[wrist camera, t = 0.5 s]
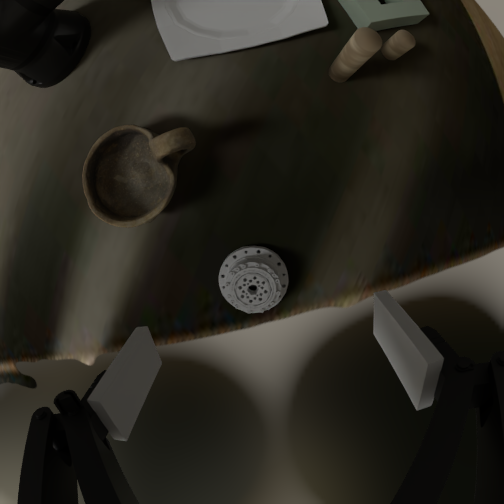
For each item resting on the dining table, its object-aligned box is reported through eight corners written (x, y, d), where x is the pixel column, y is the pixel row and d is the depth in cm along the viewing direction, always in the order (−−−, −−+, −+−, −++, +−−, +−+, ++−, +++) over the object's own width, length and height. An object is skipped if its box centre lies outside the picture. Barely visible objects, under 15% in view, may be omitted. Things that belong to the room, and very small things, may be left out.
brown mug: (89, 156, 38) (50, 157, 29) (187, 100, 36) (165, 81, 26) (122, 235, 42) (89, 254, 32) (225, 187, 39) (213, 194, 30)
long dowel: (324, 67, 34) (349, 30, 21) (342, 61, 33) (372, 24, 21) (334, 85, 34) (364, 53, 22) (352, 79, 34) (387, 48, 21)
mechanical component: (300, 284, 43) (261, 231, 41) (304, 297, 39) (261, 238, 37) (246, 318, 45) (206, 269, 43) (245, 333, 41) (200, 281, 39)
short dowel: (377, 45, 32) (392, 31, 26) (392, 42, 31) (408, 28, 26) (386, 62, 33) (403, 49, 27) (401, 58, 32) (419, 46, 26)
